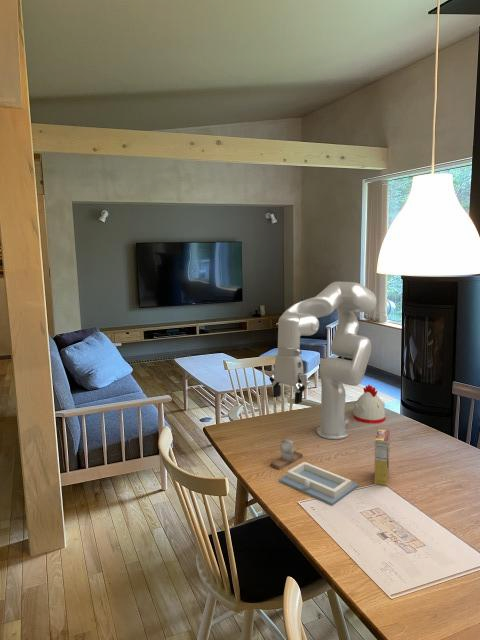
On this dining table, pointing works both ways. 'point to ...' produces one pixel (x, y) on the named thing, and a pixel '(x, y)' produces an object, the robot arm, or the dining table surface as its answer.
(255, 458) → the dining table surface
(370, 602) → the dining table surface
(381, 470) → the candy box
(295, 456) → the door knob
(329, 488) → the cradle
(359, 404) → the kitchen timer
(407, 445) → the dining table surface
